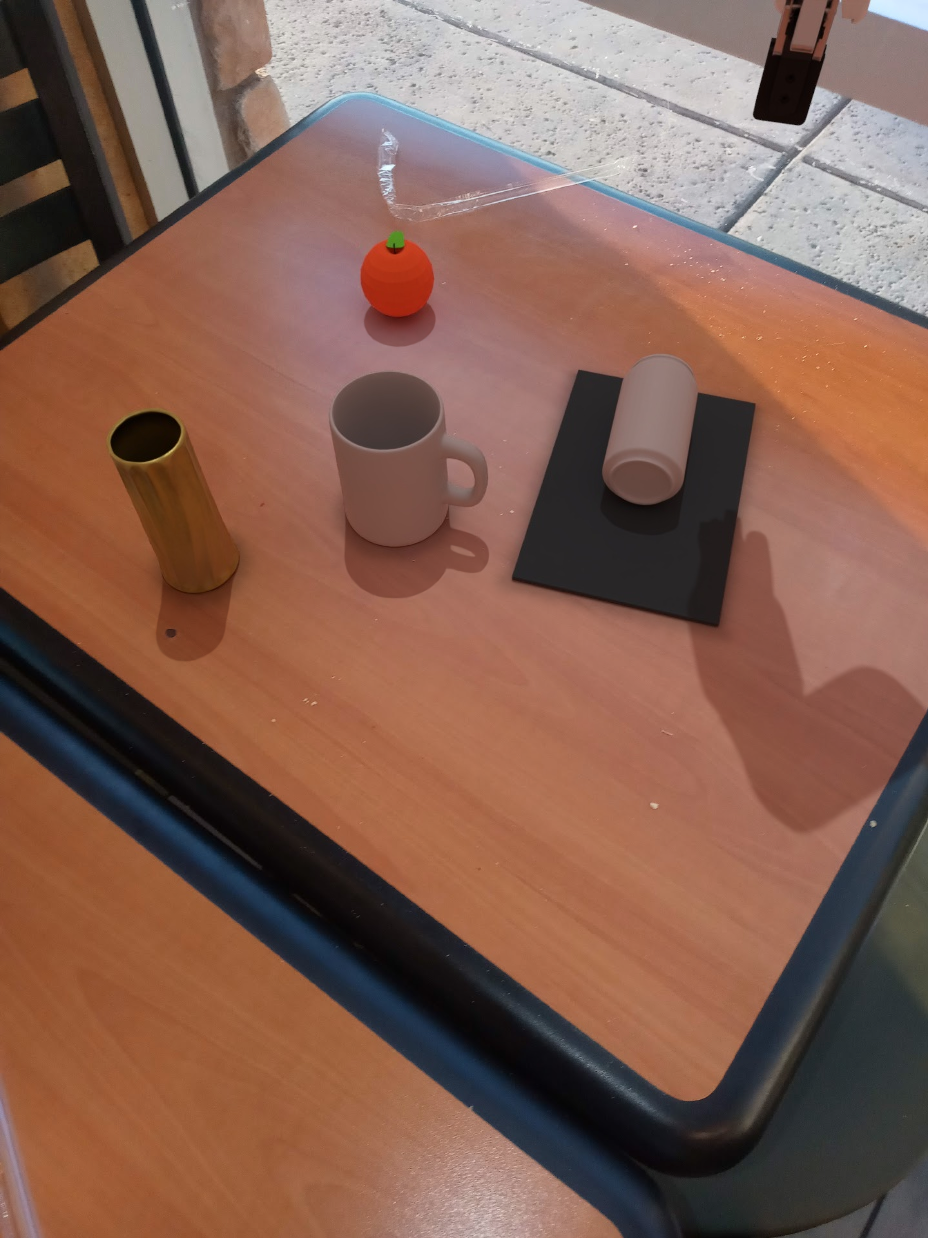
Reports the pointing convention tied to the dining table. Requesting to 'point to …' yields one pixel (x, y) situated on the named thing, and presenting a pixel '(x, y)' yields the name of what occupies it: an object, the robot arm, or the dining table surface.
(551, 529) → the mat
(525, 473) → the dining table surface
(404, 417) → the mug
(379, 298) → the clementine
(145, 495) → the vase
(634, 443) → the beverage can
